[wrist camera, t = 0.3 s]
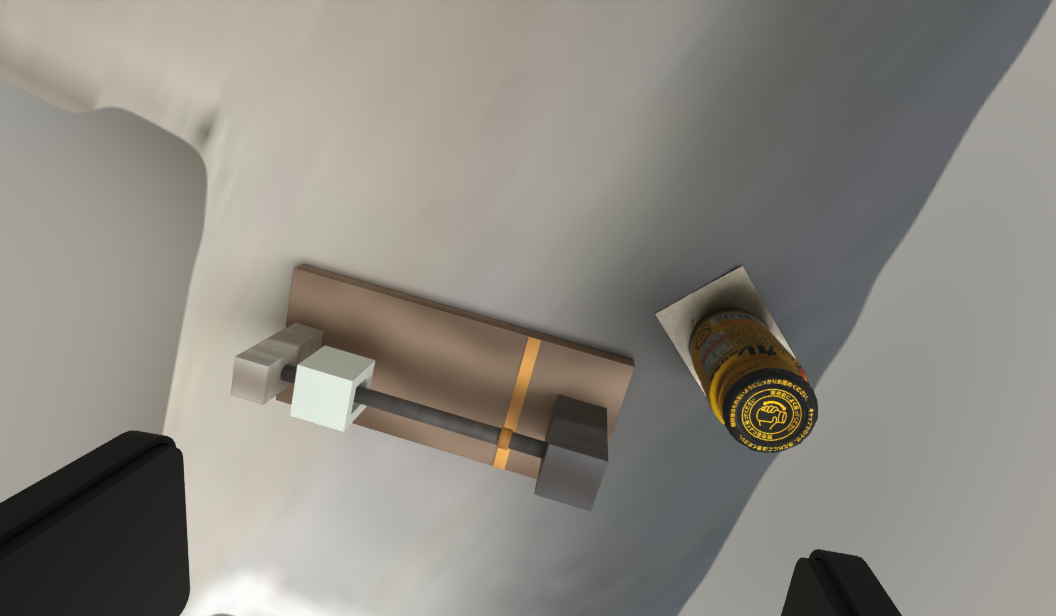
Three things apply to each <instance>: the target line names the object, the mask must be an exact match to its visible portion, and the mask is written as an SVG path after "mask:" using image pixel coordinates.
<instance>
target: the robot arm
mask: <svg viewBox="0 0 1056 616" xmlns="http://www.w3.org/2000/svg"><path fill="white" fill-rule="evenodd" d="M189 594H190V578H189V559H188V540H187V521H186V502H185V483H184V464H183V455H182V452H181V450H180V449H178V448H176V445H175V442H174V441H173V439H172V438H170V437H168V436H164V435H158V434H152V433H146V432H141V431H128V432H125V433H122V434H121V435H119V436H117V437H115V438H114V439H112V440H110V441H109V442H107V443H105V444H103V445H101V446H100V447H98V448H96V449H95V450H93V451H91V452H89V453H87V454H86V455H84V456H82V457H80V458H79V459H77V460H75V461H73V462H72V463H70V464H68V465H67V466H65V467H63V468H61V469H59V470H58V471H56V472H54V473H52V474H51V475H49V476H47V477H45V478H44V479H42V480H40V481H38V482H37V483H35V484H33V485H31V486H30V487H28V488H26V489H24V490H22V491H21V492H19V493H17V494H15V495H14V496H12V497H10V498H8V499H7V500H5V501H3V502H1V503H0V616H179V615H180V614H181V613H182V611H183V609H184V608H185V606H186V603H187V601H188V598H189ZM781 616H902V615H901V614H900V612H899V611H898V609H897V608H896V606H895V605H894V603H893V602H892V600H891V599H890V597H889V596H888V594H887V593H886V591H885V590H884V588H883V587H882V585H881V584H880V582H879V581H878V579H877V578H876V577H875V575H874V573H873V572H872V570H871V569H870V568H869V566H868V564H867V563H866V562H865V561H864V560H863V559H862V558H861V557H858V556H854V555H848V554H843V553H837V552H831V551H825V550H820V549H817V550H814V551H813V552H812V553H811V554H810V556H809V558H800V559H799V560H798V561H797V563H796V566H795V569H794V572H793V576H792V579H791V583H790V586H789V590H788V593H787V597H786V600H785V604H784V607H783V611H782V614H781Z"/></svg>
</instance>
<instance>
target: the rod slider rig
mask: <svg viewBox="0 0 1056 616" xmlns="http://www.w3.org/2000/svg"><path fill="white" fill-rule="evenodd" d="M324 346H329V347H332V348H335V349H339V350H342V351H345V352H349V353H352V354H356V355H359V356H362V357H366V358H369V359H372V360H375V365H374V370H373V375H372V380H371V385H370V389H368V388H365V387H361V386H357V387H356V391H355V396H354V401H353V402H356V403H359V404H362V405H366V408H365V409H364V410H363V411H362V412H361V413H360V414H359V415H358V417H357V418H356V419H355V420H354V421H353V422H352V423H354V424H357V425H360V426H364V427H367V428H370V429H374V430H377V431H380V432H383V433H387V434H390V435H393V436H397V437H400V438H403V439H407V440H410V441H413V442H416V443H420V444H423V445H426V446H430V447H433V448H436V449H439V450H443V451H446V452H449V453H453V454H456V455H459V456H463V457H466V458H469V459H472V460H476V461H479V462H482V463H486V464H489V465H492V466H493V467H496V468H499V469H503V470H504V469H505V470H509V471H512V472H515V473H519V474H522V475H525V476H528V477H532V478H535V479H537V482H536V487H535V492H534V494H535V495H538V496H542V497H545V498H548V499H551V500H555V501H558V502H561V503H565V504H568V505H571V506H574V507H578V508H581V509H584V510H587V511H591V509H592V506H593V504H594V501H595V498H596V495H597V492H598V489H599V486H600V483H601V481H602V478H603V475H604V472H605V469H606V466H607V463H608V443H609V440H610V437H611V434H612V431H613V428H614V425H615V423H616V420H617V417H618V414H619V411H620V408H621V405H622V402H623V399H624V396H625V393H626V391H627V388H628V385H629V382H630V379H631V376H632V373H633V370H634V367H635V366H634V360H632V359H628V358H625V357H621V356H618V355H614V354H611V353H607V352H604V351H601V350H597V349H594V348H590V347H587V346H583V345H580V344H576V343H573V342H569V341H566V340H563V339H559V338H556V337H552V336H549V335H545V334H542V333H538V332H535V331H532V330H528V329H525V328H521V327H518V326H514V325H511V324H507V323H504V322H501V321H497V320H494V319H490V318H487V317H483V316H480V315H476V314H473V313H470V312H466V311H463V310H459V309H456V308H452V307H449V306H445V305H442V304H439V303H435V302H432V301H428V300H425V299H421V298H418V297H414V296H411V295H408V294H404V293H401V292H397V291H394V290H390V289H387V288H383V287H380V286H376V285H373V284H370V283H366V282H363V281H359V280H356V279H352V278H349V277H345V276H342V275H339V274H335V273H332V272H328V271H325V270H321V269H318V268H314V267H311V266H308V265H304V264H303V265H300V266H298V267H295V268H294V271H293V279H292V286H291V293H290V300H289V308H288V315H287V322H286V328H285V329H283V330H282V331H280V332H278V333H276V334H275V335H273V336H271V337H269V338H267V339H266V340H264V341H262V342H260V343H258V344H257V345H255V346H253V347H251V348H250V349H248V350H246V351H244V352H242V353H241V354H239V355H237V356H235V361H234V370H233V379H232V388H231V395H232V396H235V397H238V398H241V399H245V400H248V401H251V402H255V403H258V404H261V405H264V404H265V403H266V402H268V401H269V400H270V399H272V398H273V397H274V396H276V400H278V401H281V402H285V403H288V404H291V405H292V399H293V392H294V385H295V378H296V372H297V365H298V364H299V363H301V362H302V361H304V360H305V359H306V358H308V357H309V356H311V355H312V354H314V353H315V352H316V351H318V350H319V349H321V348H322V347H324Z"/></svg>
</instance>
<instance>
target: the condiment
mask: <svg viewBox="0 0 1056 616" xmlns="http://www.w3.org/2000/svg"><path fill="white" fill-rule="evenodd" d="M745 307H746V309H745ZM655 315H656V316H657V318H658V320H659V321H660V323H661V324H662V326H663V328H664V329H665V331H666V333H667V334H668V336H669V337H670V339H671V340H672V342H673V344H674V346H675V347H676V349H677V350H678V352H679V354H680V355H681V357H682V358H683V360H684V362H685V363H686V365H687V366H688V368H689V370H690V371H691V373H692V375H693V376H694V378H695V379H696V381H697V383H698V384H699V386H700V388H701V389H702V391H703V392H704V394H705V396H706V397H707V399H708V402H709V404H710V407H711V409H712V411H713V412H714V414H715V415H716V417H717V418H718V419H719V420H720V421H721V422H722V423H723V424H724V425H725V426H726V427H727V429H728V430H729V433H730V434H731V435H732V437H734V438H735V439H736V440H737V441H738V442H739V443H741V444H743V445H745V446H747V447H748V448H749V449H751V450H753V451H757V452H763V453H774V452H780V451H784V450H786V449H788V448H791V447H794V446H796V445H798V444H800V443H801V442H802V441H803V440H804V439H805V438H806V437H807V436H808V435H809V434H810V433H811V431H812V429H813V427H814V425H815V423H816V421H817V419H818V405H817V404H818V403H817V399H816V396H815V393H814V391H813V389H812V388H811V387H810V385H809V383H808V380H807V377H806V374H805V372H804V370H803V368H802V367H801V365H800V363H799V362H798V361H797V360H796V359H795V356H794V354H793V353H792V351H791V349H790V347H789V346H788V344H787V342H786V341H785V339H784V337H783V335H782V334H781V332H780V330H779V328H778V327H777V325H776V323H775V321H774V320H773V318H772V316H771V314H770V313H769V311H768V309H767V307H766V305H765V304H764V302H763V300H762V299H761V297H760V295H759V293H758V292H757V290H756V288H755V286H754V285H753V283H752V281H751V280H750V278H749V276H748V274H747V272H746V271H745V269H744V267H743V266H742V267H740V268H738V269H736V270H734V271H732V272H730V273H728V274H726V275H724V276H723V277H721V278H719V279H717V280H715V281H714V282H712V283H710V284H708V285H706V286H704V287H702V288H701V289H699V290H697V291H695V292H693V293H691V294H689V295H688V296H686V297H685V298H683V299H681V300H679V301H678V302H676V303H674V304H672V305H670V306H669V307H667V308H665V309H663V310H662V311H660V312H658V313H656V314H655ZM692 319H694V323H692ZM692 325H694V326H693V328H691V326H692Z"/></svg>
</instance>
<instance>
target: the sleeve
mask: <svg viewBox="0 0 1056 616" xmlns="http://www.w3.org/2000/svg"><path fill="white" fill-rule="evenodd" d="M374 365H375V360H372V359H369V358H366V357H362V356H359V355H356V354H352V353H349V352H345V351H342V350H339V349H335V348H332V347H329V346H324V347H322V348H321V349H319V350H318V351H316V352H315V353H314V354H312V355H311V356H309V357H308V358H306V359H305V360H304V361H302V362H301V363H299V364H298V365H297V372H296V378H295V385H294V392H293V399H292V406H291V412H290V416H294V417H297V418H300V419H304V420H307V421H310V422H313V423H317V424H320V425H323V426H326V427H330V428H333V429H336V430H340V431H343V432H344V431H345V430H346V428H347V427H348V426H349V425H350V424H351V423H352V422H353V421H354V420H355V419H356V418H357V417H358V415H359V414H360V413H361V412H362V411H363V410H364V409H365V408H366V405H362V404H359V403H356V402H353V401H354V396H355V391H356V387H357V386H361V387H365V388H368V389H370V385H371V380H372V375H373V370H374Z"/></svg>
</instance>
